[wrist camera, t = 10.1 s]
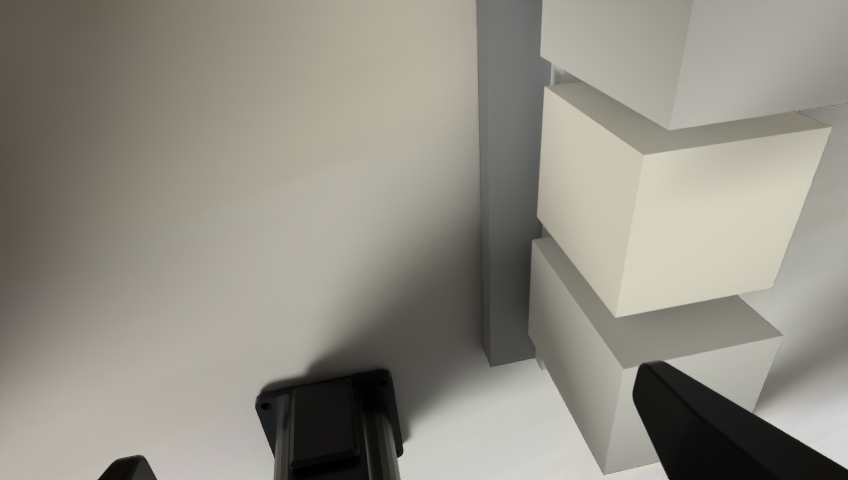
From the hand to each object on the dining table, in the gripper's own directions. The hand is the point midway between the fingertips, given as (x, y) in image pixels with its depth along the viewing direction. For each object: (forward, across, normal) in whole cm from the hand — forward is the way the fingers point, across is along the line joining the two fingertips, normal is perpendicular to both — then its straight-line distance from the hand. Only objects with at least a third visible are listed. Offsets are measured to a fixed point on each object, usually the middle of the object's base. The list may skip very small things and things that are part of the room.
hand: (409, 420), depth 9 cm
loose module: (+10, -9, 0) cm, 13 cm away
